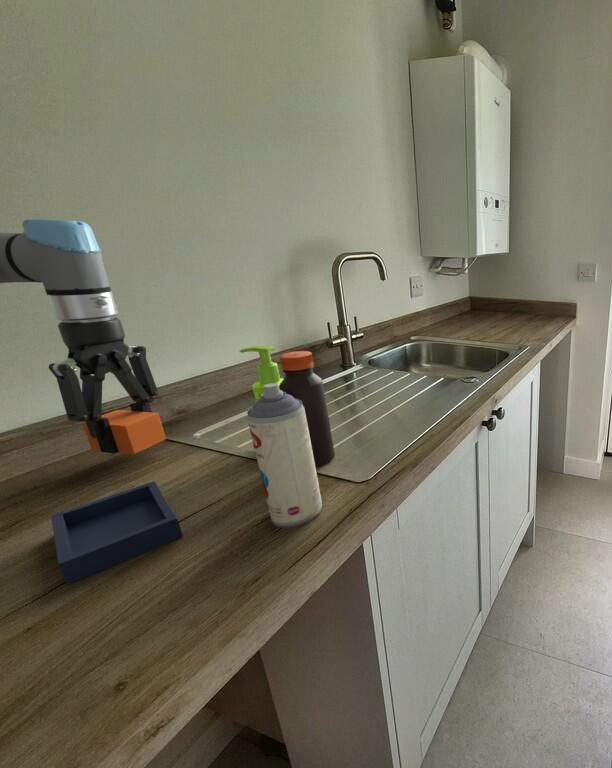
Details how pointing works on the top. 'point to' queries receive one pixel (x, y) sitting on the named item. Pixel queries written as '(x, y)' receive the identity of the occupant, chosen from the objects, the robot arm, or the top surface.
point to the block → (131, 430)
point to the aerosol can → (285, 457)
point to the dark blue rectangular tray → (112, 530)
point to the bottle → (309, 401)
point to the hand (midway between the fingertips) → (129, 443)
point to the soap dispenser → (264, 369)
